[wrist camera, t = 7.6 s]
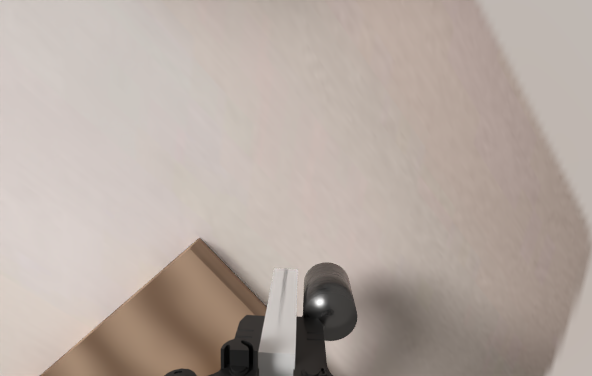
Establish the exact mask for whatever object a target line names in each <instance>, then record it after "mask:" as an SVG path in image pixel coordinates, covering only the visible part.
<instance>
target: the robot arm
mask: <svg viewBox="0 0 592 376" xmlns="http://www.w3.org/2000/svg"><path fill="white" fill-rule="evenodd" d="M297 285H298V269H285V268H274V273H273V278H272V283H271V288H270V293H269V299H268V304H267V309H266V314H265V316H258V315H246V316H245V317H244V318H243V319H242V320H241V321H240V322H239V325H238V328H237V331H236V335H235V338H234V339H232V340H229V341H227V342H226V343H225V344H223V346H222V347H221V349H220V350H221V369H220V370H219V371H218V372H216V373H214V374H211V375H208V376H333V375H332V374H331V373H330V372H329V370H328V368H327V363H326V352H325V342H324V331H323V324H322V323H321V322H320V320H319V319H318V318H308V317H297ZM164 376H197V375H196V374H195V372H194V371H192V370H190V369H183V368H181V369H176V370H173V371H171V372H169V373H167V374H166V375H164Z"/></svg>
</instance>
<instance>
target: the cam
mask: <svg viewBox="0 0 592 376" xmlns="http://www.w3.org/2000/svg"><path fill="white" fill-rule="evenodd" d="M302 317H308V318H318V319H319V320H320V322H321V323H322V324H323V331H324V341H325V340H326V341H334V340H339V339H342V338H344V337H346V336H347V335H348V334H350V333H351V332H352V330H353V329H354V327H355V325H356V322H357V311H356V307H355V303H354V299H353V295H352V291H351V287H350V283H349V278H348V276H347V274H346V272H345V271H344V270H343V269H342V268H341V267H340V266H338V265H336V264H333V263H320V264H317V265H315V266H313V267H312V268H311V269H310V270H309V271H308V272H307V274H306V276H305V279H304V302H303V316H302Z"/></svg>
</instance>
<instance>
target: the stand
mask: <svg viewBox="0 0 592 376" xmlns="http://www.w3.org/2000/svg"><path fill="white" fill-rule="evenodd" d="M266 309H267V307H266V306H265V305H264V304H263V303H262V302H261V301H260V300H259V299H258V298H257V297H256V296H255V295H254V294H253V293H252V292H251V291H250V290H249V289H248V288H247V287H246V285H245V284H244V283H243V282H242V281H241V280H240V279H239V278H238V277H237V276H236V275H235V274H234V273H233V272H232V271H231V270H230V269H229V268H228V267H227V266H226V265H225V264H224V263H223V262H222V261H221V260H220V259H219V258H218V257H217V256H216V254H215V253H214V252H213V251H212V250H211V249H210V248H209V247H208V246H207V245H206V244H205V243H204V242H203V241H202V240H201V239H200V238H199V239H197V240H196V241H195V242H194V243H193V244H192V245H191V246H189V247H188V248H187V249H186V250H185V251H184V252H182V253H181V254H180V255H179V256H178V257H177V258H175V259H174V260H173V261H172V262H171V263H170V264H169V265H167V266H166V267H165V268H164V269H163V270H162V271H160V272H159V273H158V274H157V275H156V276H155V277H154V278H152V279H151V280H150V281H149V282H148V283H147V284H145V285H144V286H143V287H142V288H141V289H140V290H138V291H137V292H136V293H135V294H134V295H133V296H132V297H130V298H129V299H128V300H127V301H126V302H125V303H123V304H122V305H121V306H120V307H119V308H118V309H117V310H115V311H114V312H113V313H112V314H111V315H110V316H108V317H107V318H106V319H105V320H104V321H103V322H101V323H100V324H99V325H98V326H97V327H96V328H95V329H93V330H92V331H91V332H90V333H89V334H88V335H86V336H85V337H84V338H83V339H82V340H81V341H80V342H78V343H77V344H76V345H75V346H74V347H73V348H71V349H70V350H69V351H68V352H67V353H66V354H64V355H63V356H62V357H61V358H60V359H59V360H58V361H56V362H55V363H54V364H53V365H52V366H51V367H49V368H48V369H47V370H46V371H45V372H44V373H43V374H41V375H40V376H164V375H166V374H167V373H169V372H171V371H173V370H176V369H181V368H183V369H190V370H192V371H194V372H195V374H196V375H197V376H208V375H211V374H214V373H216V372H218V371H219V370H220V369H221V350H220V349H221V347H222V346H223V344H225V343H226V342H227V341H229V340H232V339H234V338H235V335H236V331H237V328H238V325H239V322H240V321H241V320H242V319H243V318H244V317H245V316H246V315H258V316H265V314H266Z"/></svg>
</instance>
